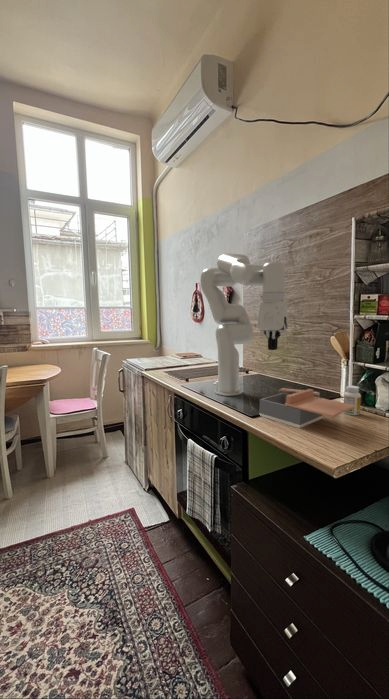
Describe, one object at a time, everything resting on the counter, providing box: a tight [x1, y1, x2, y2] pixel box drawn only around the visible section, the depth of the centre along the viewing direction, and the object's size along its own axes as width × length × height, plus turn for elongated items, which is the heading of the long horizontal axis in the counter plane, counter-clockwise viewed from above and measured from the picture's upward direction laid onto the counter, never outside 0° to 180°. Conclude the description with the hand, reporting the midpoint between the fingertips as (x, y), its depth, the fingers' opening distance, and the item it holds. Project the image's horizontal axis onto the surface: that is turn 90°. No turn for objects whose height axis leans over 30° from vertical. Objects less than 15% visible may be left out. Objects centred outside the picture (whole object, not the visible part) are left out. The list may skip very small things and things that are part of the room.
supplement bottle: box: [343, 385, 362, 416], centre depth 111 cm, size 5×5×10 cm
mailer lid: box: [285, 388, 355, 418], centre depth 99 cm, size 16×15×3 cm
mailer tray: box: [258, 393, 324, 429], centre depth 108 cm, size 16×14×6 cm
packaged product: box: [277, 387, 326, 399], centre depth 128 cm, size 18×5×10 cm
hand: (272, 349), depth 112 cm, fingers closed
